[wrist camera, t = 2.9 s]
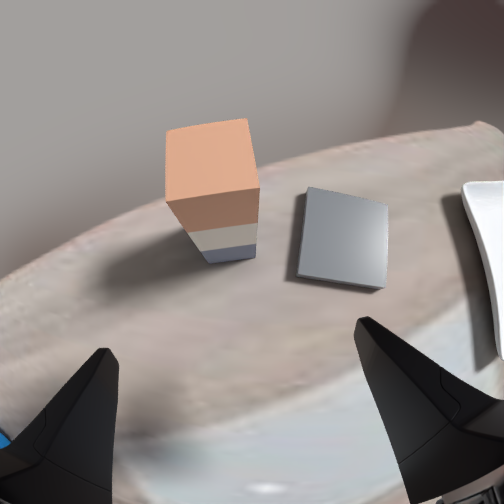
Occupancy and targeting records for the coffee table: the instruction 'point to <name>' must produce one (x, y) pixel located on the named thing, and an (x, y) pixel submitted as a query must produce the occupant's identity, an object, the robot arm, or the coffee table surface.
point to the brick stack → (214, 188)
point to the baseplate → (343, 239)
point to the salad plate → (489, 242)
